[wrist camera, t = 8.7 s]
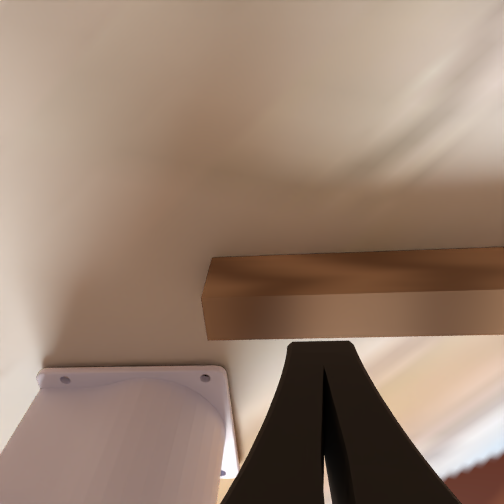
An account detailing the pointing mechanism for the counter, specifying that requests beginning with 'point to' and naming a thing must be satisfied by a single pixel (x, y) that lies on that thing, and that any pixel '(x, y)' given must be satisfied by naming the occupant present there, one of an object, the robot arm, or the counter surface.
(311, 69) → the counter surface
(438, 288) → the chute
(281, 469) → the robot arm
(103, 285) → the counter surface
